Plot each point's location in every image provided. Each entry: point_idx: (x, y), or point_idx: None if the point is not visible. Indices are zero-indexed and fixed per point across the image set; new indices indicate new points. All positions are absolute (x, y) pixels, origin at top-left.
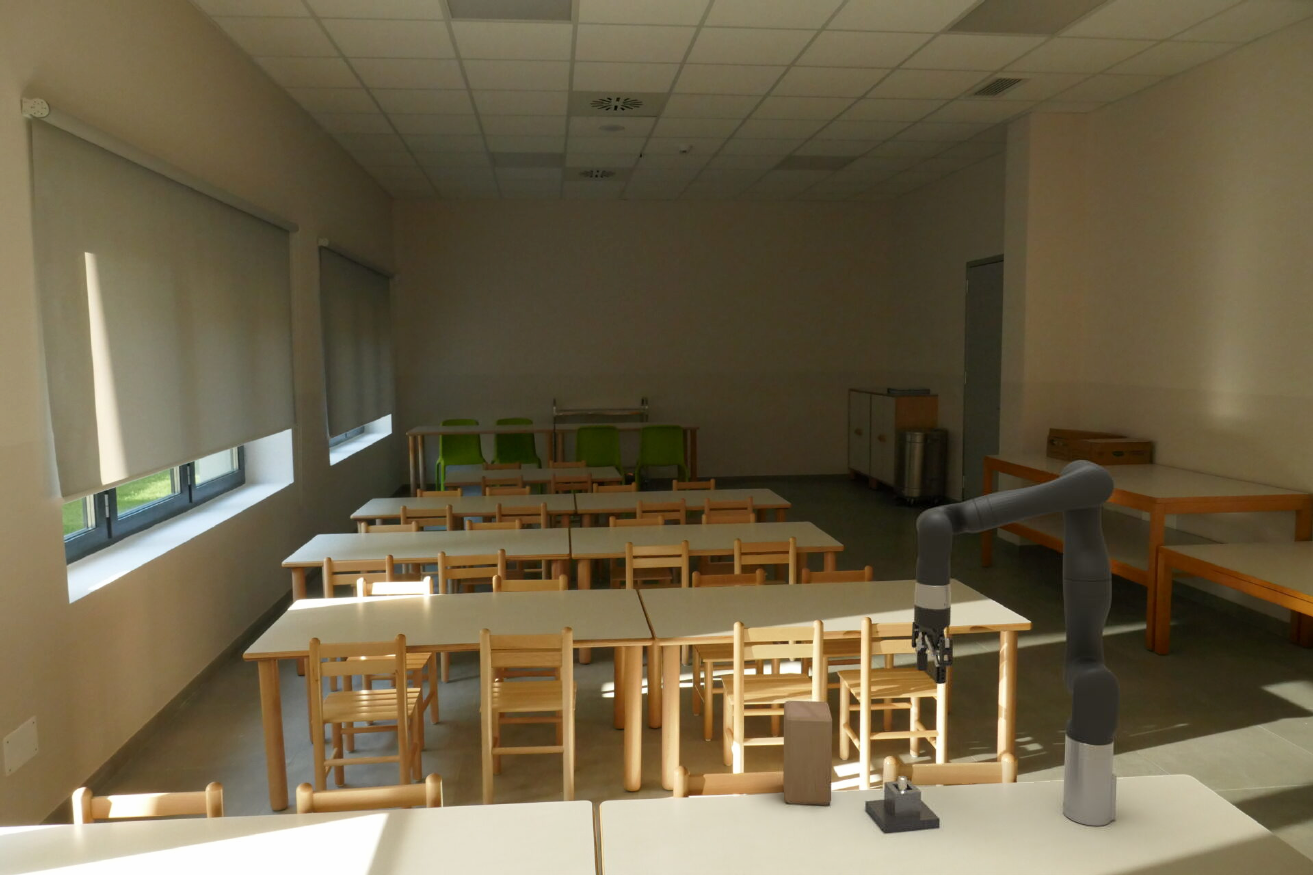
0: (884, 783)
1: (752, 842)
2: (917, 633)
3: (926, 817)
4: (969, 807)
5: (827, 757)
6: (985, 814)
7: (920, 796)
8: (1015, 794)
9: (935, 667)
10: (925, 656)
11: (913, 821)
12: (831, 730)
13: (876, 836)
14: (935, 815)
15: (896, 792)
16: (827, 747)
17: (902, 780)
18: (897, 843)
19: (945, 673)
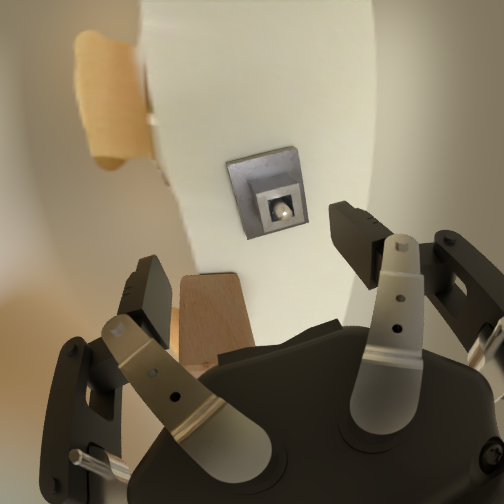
0: (264, 231)
1: (310, 327)
2: (107, 446)
3: (294, 166)
4: (229, 87)
5: (248, 319)
6: (251, 70)
7: (296, 181)
8: (181, 13)
9: (368, 284)
10: (151, 308)
11: (303, 185)
12: (251, 346)
13: (310, 227)
14: (288, 152)
15: (299, 219)
16: (251, 331)
17: (291, 215)
18: (327, 206)
19: (382, 227)
